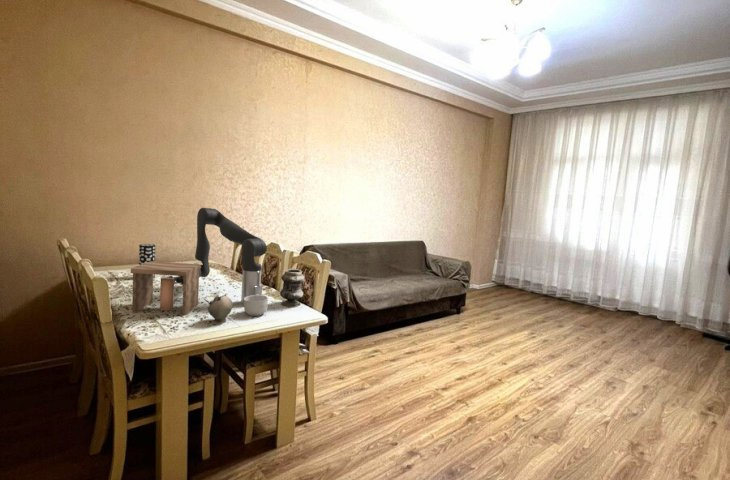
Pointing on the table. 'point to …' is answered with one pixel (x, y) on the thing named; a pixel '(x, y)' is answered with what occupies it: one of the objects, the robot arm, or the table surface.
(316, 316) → the table surface
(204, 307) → the table surface
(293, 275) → the dark mottled vase
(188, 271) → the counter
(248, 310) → the teacup
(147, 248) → the spotted tube
